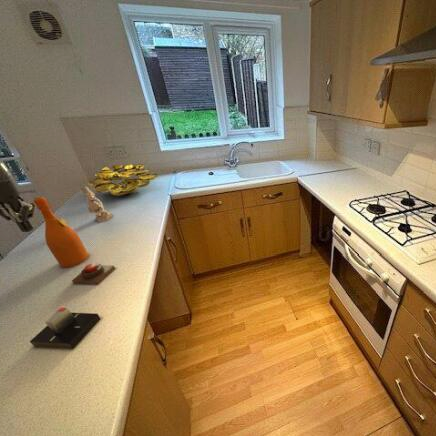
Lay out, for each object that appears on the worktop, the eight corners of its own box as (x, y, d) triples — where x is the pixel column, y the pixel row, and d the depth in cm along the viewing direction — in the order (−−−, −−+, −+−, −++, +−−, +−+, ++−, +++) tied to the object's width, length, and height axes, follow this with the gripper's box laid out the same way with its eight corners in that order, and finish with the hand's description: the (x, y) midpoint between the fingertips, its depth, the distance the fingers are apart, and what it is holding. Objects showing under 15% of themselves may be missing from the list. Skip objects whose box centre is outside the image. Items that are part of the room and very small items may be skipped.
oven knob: (60, 334, 68) (50, 321, 66) (54, 334, 68) (44, 321, 66) (75, 319, 73) (67, 307, 70) (69, 319, 73) (60, 306, 70)
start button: (83, 272, 91) (81, 269, 90) (91, 266, 94) (89, 263, 93) (92, 273, 90) (90, 269, 90) (99, 266, 94) (98, 263, 93)
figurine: (96, 218, 139) (80, 185, 129) (113, 214, 142) (99, 182, 132) (93, 224, 132) (76, 191, 122) (111, 221, 135) (96, 187, 125)
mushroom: (96, 211, 147) (83, 184, 139) (92, 191, 178) (82, 168, 170) (166, 193, 169) (159, 169, 161) (152, 178, 200) (145, 157, 192)
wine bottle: (74, 269, 98) (34, 203, 84) (54, 268, 100) (12, 202, 85) (95, 255, 107) (62, 193, 92) (76, 253, 108) (41, 192, 94)
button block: (74, 284, 90) (69, 276, 88) (93, 269, 98) (88, 261, 96) (98, 285, 90) (94, 277, 88) (116, 269, 97) (112, 261, 96)
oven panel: (35, 348, 68) (29, 341, 67) (66, 318, 77) (61, 311, 75) (74, 350, 67) (68, 343, 66) (101, 320, 76) (97, 313, 74)
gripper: (-43, 184, 66) (-4, 236, 74) (0, 184, 65) (35, 237, 73) (-11, 175, 73) (22, 224, 81) (29, 175, 72) (57, 225, 80)
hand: (28, 230), depth 77 cm, fingers closed
